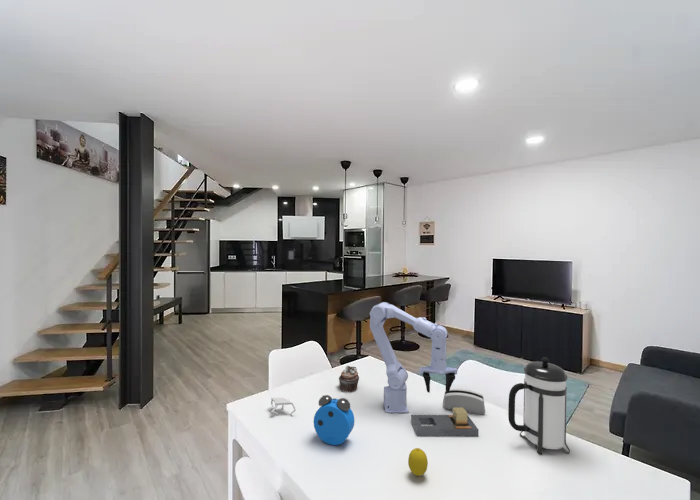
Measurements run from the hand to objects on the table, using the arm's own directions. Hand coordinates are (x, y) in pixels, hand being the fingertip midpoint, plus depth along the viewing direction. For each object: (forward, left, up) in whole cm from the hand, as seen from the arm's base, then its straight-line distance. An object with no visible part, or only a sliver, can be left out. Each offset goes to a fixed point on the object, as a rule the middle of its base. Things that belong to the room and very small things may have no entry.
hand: (437, 391), depth 127 cm
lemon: (-16, -33, -10) cm, 38 cm away
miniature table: (-62, +2, -11) cm, 63 cm away
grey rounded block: (+13, +6, -11) cm, 18 cm away
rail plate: (0, -8, -10) cm, 13 cm away
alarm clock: (-41, -16, -10) cm, 45 cm away
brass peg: (+6, -8, -10) cm, 14 cm away
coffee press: (+30, -18, -10) cm, 37 cm away
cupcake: (-35, +26, -10) cm, 45 cm away
